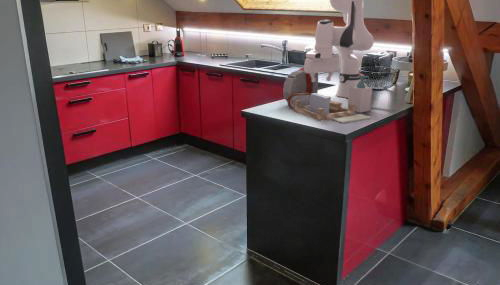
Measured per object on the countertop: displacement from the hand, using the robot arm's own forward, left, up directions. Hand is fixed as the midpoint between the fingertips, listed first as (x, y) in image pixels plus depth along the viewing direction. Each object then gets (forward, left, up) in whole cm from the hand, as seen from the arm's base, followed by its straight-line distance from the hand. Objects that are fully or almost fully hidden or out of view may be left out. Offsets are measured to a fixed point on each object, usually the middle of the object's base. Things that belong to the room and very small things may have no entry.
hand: (321, 81), depth 216 cm
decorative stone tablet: (-8, -27, -18) cm, 33 cm away
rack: (-4, 0, -17) cm, 18 cm away
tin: (+1, -15, -18) cm, 23 cm away
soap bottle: (-25, +3, -18) cm, 31 cm away
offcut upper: (-9, 0, -15) cm, 17 cm away
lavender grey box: (0, 0, -17) cm, 17 cm away
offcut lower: (-9, 0, -18) cm, 20 cm away
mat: (-9, +15, -17) cm, 25 cm away
